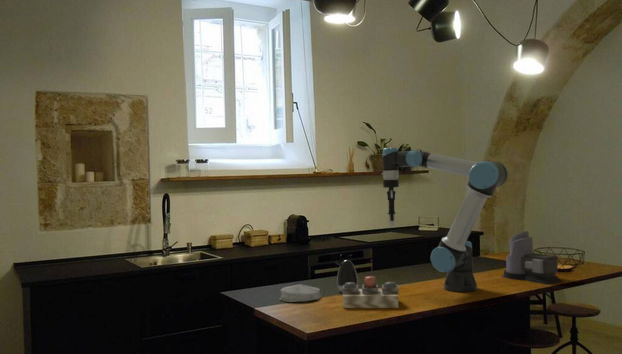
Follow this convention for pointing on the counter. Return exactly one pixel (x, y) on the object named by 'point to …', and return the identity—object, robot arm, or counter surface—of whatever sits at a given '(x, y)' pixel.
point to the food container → (299, 293)
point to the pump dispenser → (346, 274)
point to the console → (370, 297)
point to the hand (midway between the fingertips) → (392, 227)
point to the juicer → (529, 262)
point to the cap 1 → (350, 285)
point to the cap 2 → (389, 284)
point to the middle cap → (369, 281)
